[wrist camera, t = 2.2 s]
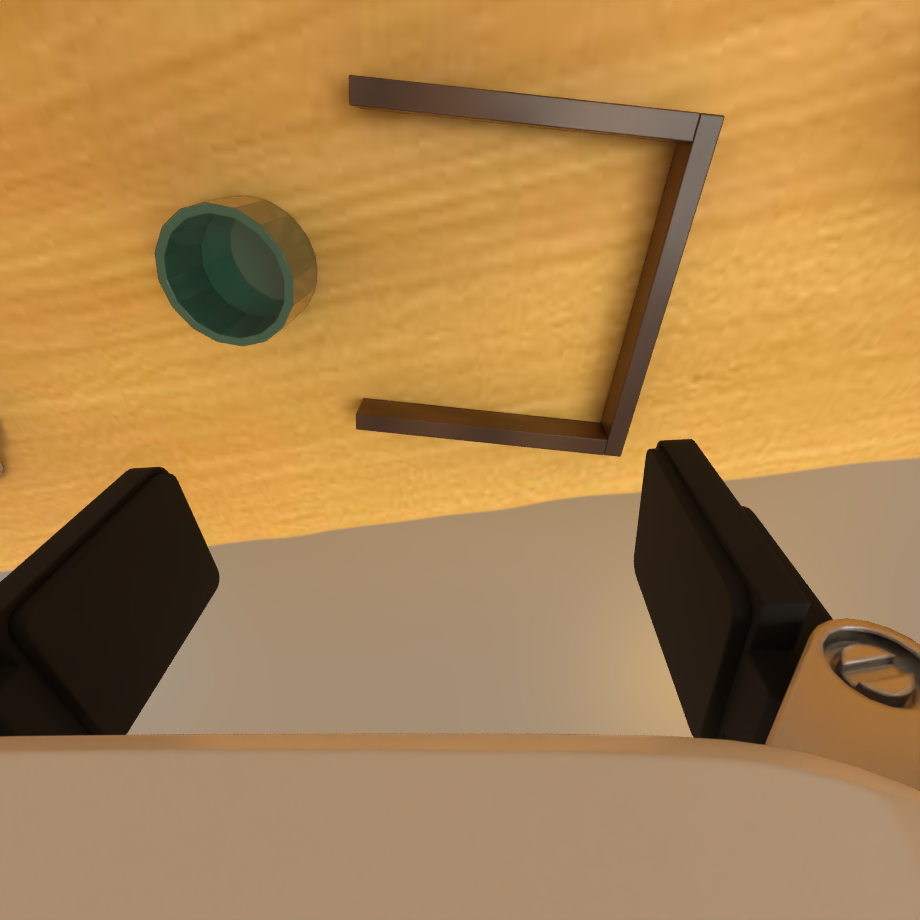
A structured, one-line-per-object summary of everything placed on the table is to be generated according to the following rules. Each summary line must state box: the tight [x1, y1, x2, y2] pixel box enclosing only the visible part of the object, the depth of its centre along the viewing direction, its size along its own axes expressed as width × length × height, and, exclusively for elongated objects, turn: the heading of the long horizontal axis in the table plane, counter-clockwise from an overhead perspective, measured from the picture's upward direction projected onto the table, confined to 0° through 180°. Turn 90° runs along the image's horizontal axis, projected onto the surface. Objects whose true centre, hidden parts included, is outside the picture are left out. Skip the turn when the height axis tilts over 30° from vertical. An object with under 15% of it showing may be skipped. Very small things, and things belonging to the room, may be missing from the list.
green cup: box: [155, 196, 317, 346], centre depth 29 cm, size 7×7×5 cm
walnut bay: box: [349, 75, 724, 457], centre depth 30 cm, size 18×19×2 cm
